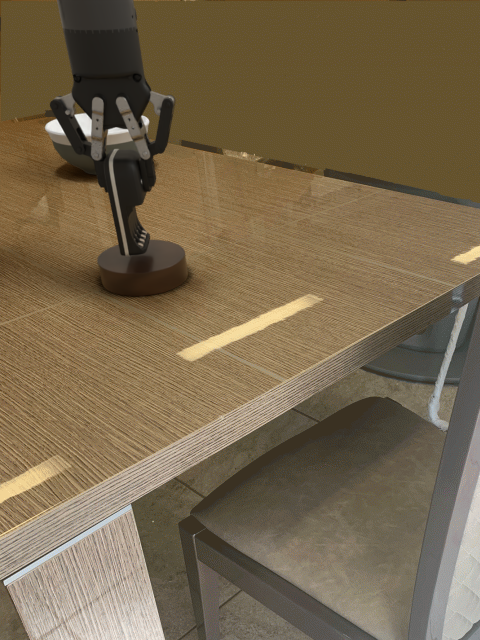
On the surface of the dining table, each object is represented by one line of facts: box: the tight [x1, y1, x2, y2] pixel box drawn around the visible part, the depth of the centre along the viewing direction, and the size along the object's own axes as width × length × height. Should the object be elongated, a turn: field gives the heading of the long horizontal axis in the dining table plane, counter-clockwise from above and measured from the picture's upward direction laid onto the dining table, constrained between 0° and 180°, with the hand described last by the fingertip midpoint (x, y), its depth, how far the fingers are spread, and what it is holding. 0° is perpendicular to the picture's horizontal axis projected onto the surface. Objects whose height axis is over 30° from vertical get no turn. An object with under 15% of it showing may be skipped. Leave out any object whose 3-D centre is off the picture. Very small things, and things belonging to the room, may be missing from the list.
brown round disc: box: [96, 239, 189, 297], centre depth 83 cm, size 11×11×3 cm
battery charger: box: [104, 149, 151, 256], centre depth 78 cm, size 7×4×11 cm, turn 6°
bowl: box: [44, 112, 150, 176], centre depth 121 cm, size 19×19×8 cm
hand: (129, 189), depth 77 cm, fingers closed on battery charger, 4 cm apart
